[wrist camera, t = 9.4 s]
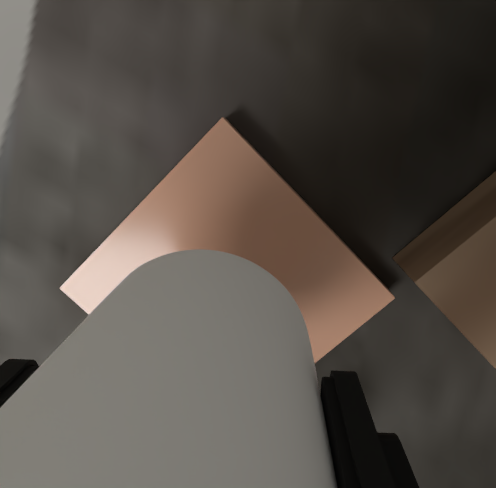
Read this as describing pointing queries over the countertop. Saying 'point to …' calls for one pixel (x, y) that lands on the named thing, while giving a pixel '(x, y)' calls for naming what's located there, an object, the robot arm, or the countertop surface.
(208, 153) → the tile
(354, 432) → the robot arm
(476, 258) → the well board
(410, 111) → the countertop surface
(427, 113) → the countertop surface
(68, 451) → the can
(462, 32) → the countertop surface
